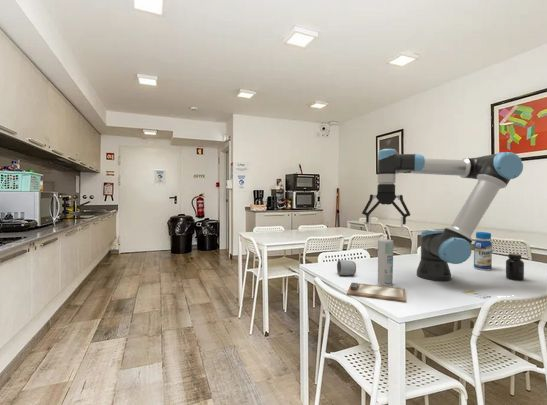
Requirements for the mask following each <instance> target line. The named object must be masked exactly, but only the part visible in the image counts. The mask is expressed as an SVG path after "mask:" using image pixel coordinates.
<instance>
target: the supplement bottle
mask: <svg viewBox="0 0 547 405" xmlns="http://www.w3.org/2000/svg"><path fill="white" fill-rule="evenodd" d="M505 278H506V279H507V280H510V281H517V282H521V281H524V279H525V261H523V260H522V254H519V253H508V259H506V261H505Z"/></svg>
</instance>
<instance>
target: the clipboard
mask: <svg viewBox="0 0 547 405" xmlns="http://www.w3.org/2000/svg"><path fill="white" fill-rule="evenodd" d="M346 296H352V297H361V298H367V299H369V298H370V299H376V300H383V301H384V300H385V301H392V302H399V303H407V295H406V288H402V287H392V286H382V285H376V284H366V283H359V282H351V283H350V286H349V287H348V290H347V292H346Z"/></svg>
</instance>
